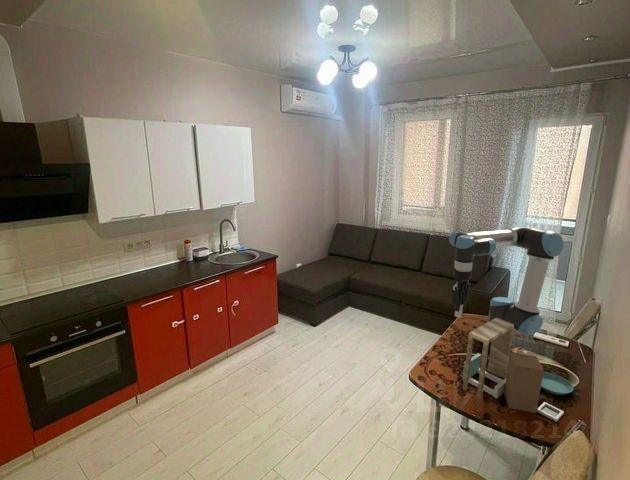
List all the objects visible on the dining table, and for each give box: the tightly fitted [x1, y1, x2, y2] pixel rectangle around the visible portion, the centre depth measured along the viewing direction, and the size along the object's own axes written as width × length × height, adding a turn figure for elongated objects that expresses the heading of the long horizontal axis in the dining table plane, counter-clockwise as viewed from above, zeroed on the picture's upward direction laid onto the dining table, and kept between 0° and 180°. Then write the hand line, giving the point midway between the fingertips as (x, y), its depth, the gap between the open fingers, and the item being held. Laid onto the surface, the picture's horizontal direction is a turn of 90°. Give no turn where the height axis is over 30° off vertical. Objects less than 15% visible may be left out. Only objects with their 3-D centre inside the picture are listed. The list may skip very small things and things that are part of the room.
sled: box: [462, 352, 506, 399], centre depth 153 cm, size 12×16×9 cm
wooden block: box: [503, 352, 545, 414], centre depth 140 cm, size 10×10×20 cm
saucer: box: [541, 371, 575, 396], centre depth 152 cm, size 15×15×3 cm
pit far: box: [536, 401, 565, 423], centre depth 137 cm, size 7×7×1 cm
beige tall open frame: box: [462, 318, 515, 400], centre depth 152 cm, size 23×8×28 cm, turn 126°
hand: (458, 316), depth 162 cm, fingers closed
